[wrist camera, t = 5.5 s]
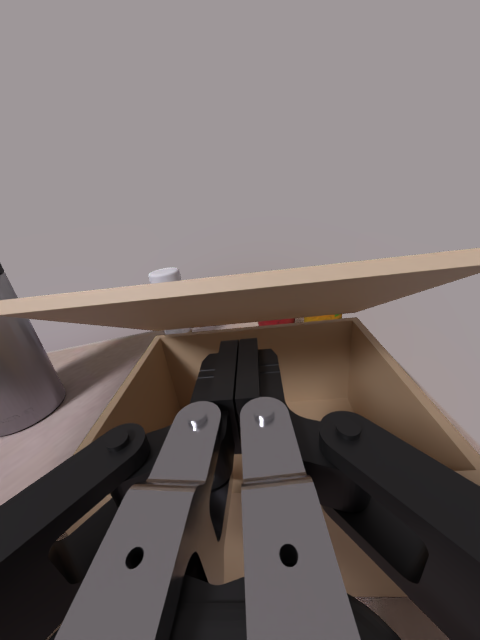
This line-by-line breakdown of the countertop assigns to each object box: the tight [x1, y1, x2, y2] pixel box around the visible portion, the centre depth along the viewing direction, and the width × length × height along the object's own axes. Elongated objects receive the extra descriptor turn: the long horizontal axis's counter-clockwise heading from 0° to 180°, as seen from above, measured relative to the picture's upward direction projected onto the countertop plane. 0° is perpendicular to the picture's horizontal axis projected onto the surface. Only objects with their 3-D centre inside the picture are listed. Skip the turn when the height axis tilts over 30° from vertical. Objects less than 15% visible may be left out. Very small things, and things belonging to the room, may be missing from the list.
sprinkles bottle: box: [148, 267, 192, 335], centre depth 41 cm, size 5×5×13 cm
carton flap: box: [0, 248, 480, 331], centre depth 17 cm, size 16×19×1 cm
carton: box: [65, 317, 480, 597], centre depth 21 cm, size 16×20×10 cm
